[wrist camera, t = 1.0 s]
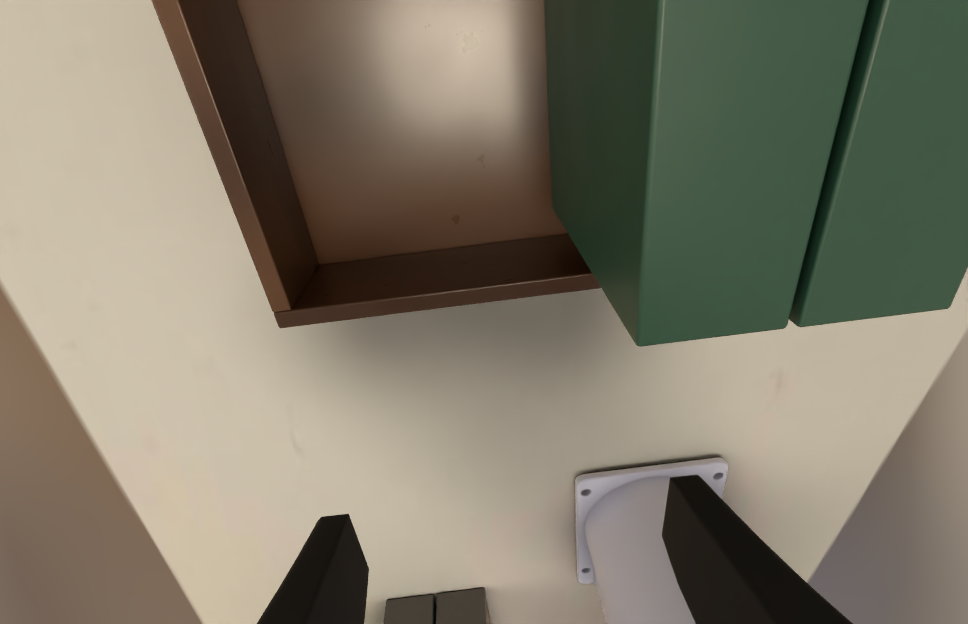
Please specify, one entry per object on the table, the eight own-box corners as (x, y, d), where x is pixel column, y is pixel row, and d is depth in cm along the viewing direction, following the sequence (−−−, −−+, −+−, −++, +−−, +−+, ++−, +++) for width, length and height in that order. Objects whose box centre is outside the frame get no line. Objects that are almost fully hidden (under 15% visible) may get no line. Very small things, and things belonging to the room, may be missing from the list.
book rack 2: (721, 187, 17) (950, 309, 9) (639, 198, 17) (798, 328, 9) (756, -54, 14) (1173, -187, 6) (653, -41, 14) (927, -155, 6)
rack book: (634, 198, 17) (788, 329, 9) (551, 208, 17) (636, 349, 9) (646, -40, 14) (910, -153, 6) (542, -26, 14) (666, -122, 6)
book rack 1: (724, 223, 18) (788, 265, 15) (311, 275, 18) (278, 329, 15) (777, -125, 13) (895, -185, 10) (205, -51, 13) (117, -85, 10)
